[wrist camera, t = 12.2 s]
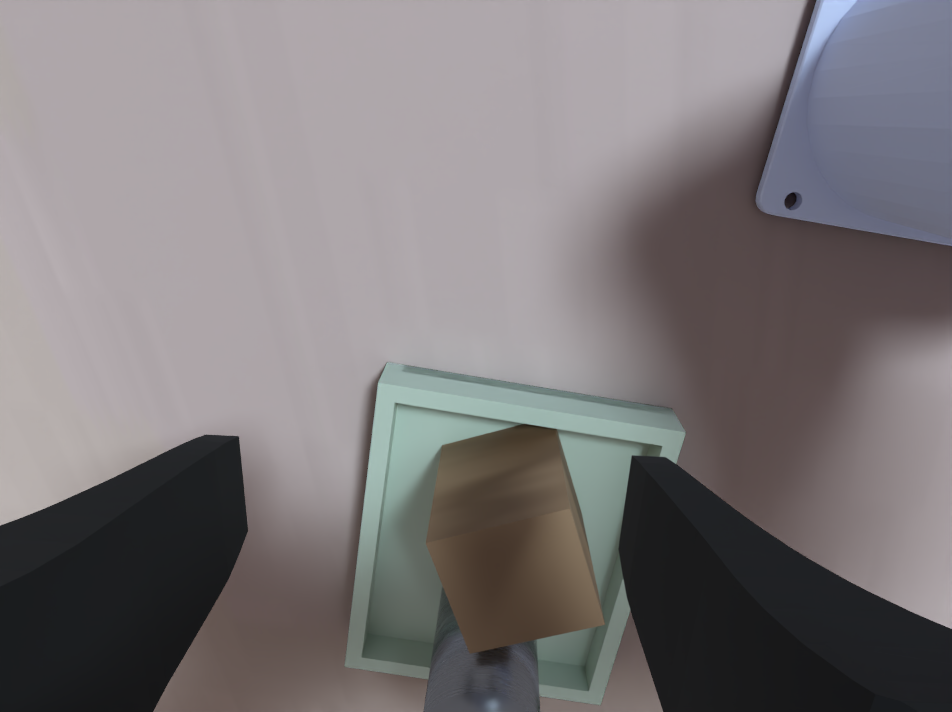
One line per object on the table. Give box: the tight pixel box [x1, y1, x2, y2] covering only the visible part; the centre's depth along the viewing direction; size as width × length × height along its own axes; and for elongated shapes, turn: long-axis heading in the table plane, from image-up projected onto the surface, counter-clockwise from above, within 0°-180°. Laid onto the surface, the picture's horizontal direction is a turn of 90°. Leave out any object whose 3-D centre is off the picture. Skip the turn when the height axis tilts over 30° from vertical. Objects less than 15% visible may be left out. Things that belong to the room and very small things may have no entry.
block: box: [426, 424, 605, 654], centre depth 20 cm, size 4×4×6 cm
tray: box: [344, 362, 686, 705], centre depth 24 cm, size 10×12×2 cm
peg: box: [424, 586, 540, 712], centre depth 22 cm, size 4×4×6 cm
